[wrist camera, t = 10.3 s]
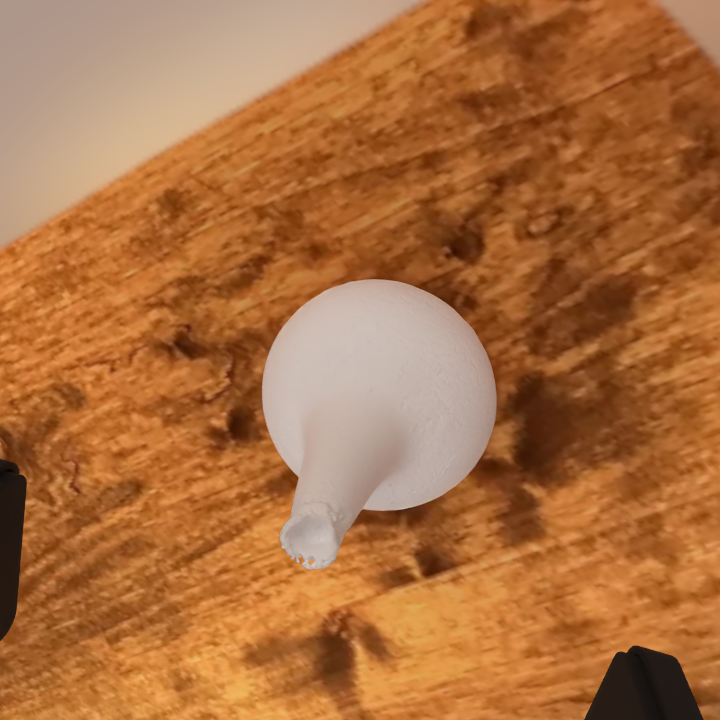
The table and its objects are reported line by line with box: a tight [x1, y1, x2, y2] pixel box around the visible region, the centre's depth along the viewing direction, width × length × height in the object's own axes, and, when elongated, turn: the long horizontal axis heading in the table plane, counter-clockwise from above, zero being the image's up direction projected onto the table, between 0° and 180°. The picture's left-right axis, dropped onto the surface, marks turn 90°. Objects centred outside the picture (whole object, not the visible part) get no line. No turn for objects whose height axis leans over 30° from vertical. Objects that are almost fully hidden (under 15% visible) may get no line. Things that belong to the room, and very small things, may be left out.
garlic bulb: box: [262, 279, 497, 570], centre depth 16 cm, size 6×6×8 cm
